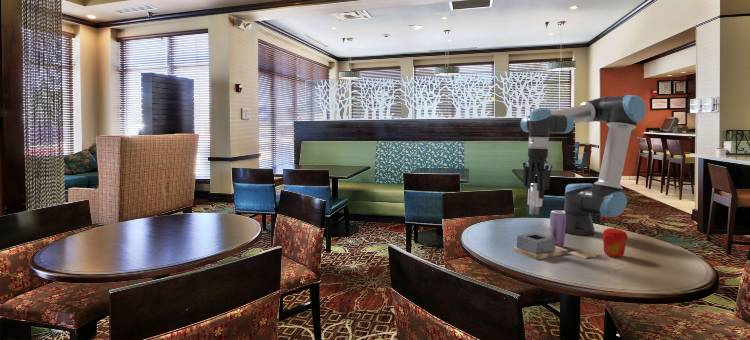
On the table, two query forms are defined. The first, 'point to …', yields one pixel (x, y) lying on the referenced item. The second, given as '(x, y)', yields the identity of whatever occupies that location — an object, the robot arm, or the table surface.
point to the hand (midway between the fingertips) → (534, 205)
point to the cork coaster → (583, 254)
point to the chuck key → (533, 199)
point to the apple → (614, 242)
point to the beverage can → (558, 227)
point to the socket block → (536, 243)
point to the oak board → (539, 256)
